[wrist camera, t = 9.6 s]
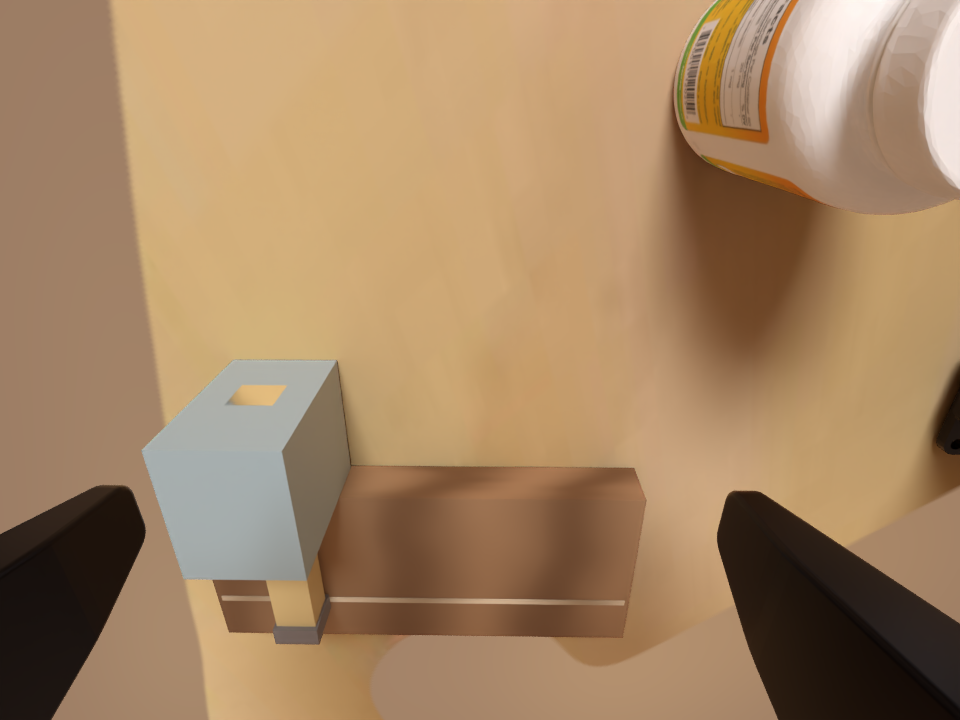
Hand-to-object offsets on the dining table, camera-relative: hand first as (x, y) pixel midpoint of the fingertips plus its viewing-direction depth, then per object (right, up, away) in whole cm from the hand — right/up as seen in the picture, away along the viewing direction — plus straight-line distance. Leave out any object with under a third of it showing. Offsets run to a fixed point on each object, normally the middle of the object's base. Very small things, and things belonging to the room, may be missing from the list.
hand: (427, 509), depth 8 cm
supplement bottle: (+9, +11, +8) cm, 16 cm away
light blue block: (-7, -3, +15) cm, 17 cm away
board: (-2, -6, +16) cm, 17 cm away
